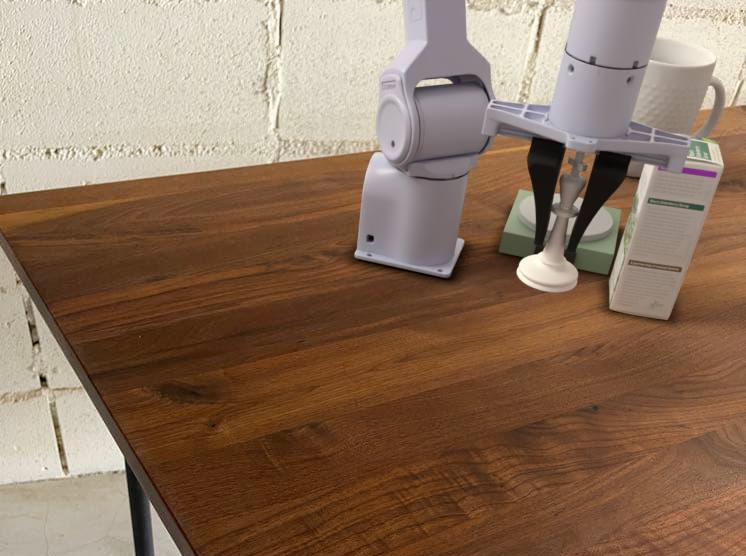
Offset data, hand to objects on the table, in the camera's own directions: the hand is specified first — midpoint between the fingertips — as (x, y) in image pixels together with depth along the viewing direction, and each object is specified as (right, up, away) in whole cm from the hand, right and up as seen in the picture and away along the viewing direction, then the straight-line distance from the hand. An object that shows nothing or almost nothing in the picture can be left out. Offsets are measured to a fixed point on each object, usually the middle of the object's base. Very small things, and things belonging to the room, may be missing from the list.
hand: (555, 243), depth 70 cm
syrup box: (+11, -1, +15) cm, 19 cm away
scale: (+6, +8, +22) cm, 24 cm away
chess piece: (0, -2, +2) cm, 3 cm away
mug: (+20, +22, +39) cm, 49 cm away
